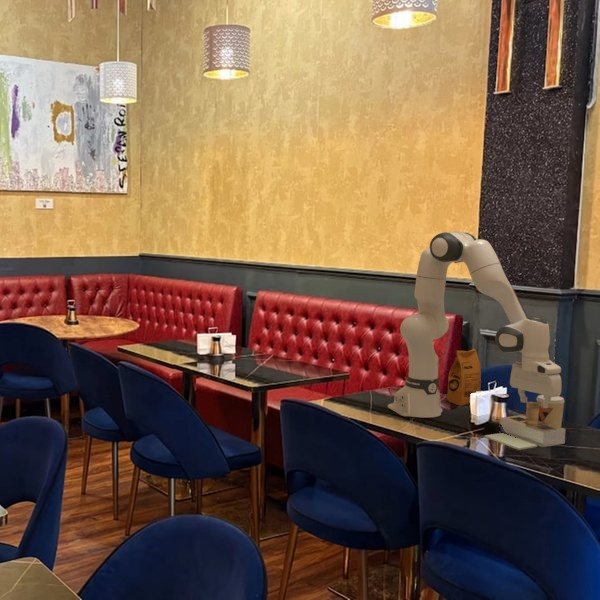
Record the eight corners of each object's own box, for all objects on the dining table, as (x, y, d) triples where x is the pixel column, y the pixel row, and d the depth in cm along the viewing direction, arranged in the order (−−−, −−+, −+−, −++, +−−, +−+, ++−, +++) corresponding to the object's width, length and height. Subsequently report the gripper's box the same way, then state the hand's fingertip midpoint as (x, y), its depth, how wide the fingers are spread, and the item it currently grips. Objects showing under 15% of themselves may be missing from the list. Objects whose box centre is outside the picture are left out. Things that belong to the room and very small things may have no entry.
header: (499, 431, 252) (500, 417, 252) (520, 428, 257) (521, 415, 256) (542, 447, 235) (543, 432, 234) (564, 443, 239) (565, 428, 239)
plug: (522, 436, 247) (524, 402, 245) (531, 435, 248) (532, 401, 247) (531, 439, 243) (532, 405, 242) (539, 438, 245) (541, 403, 244)
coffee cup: (529, 428, 258) (531, 395, 257) (550, 426, 261) (552, 393, 260) (547, 435, 249) (548, 401, 248) (568, 433, 252) (570, 399, 251)
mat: (484, 437, 245) (484, 435, 245) (502, 434, 249) (502, 432, 249) (518, 450, 231) (518, 448, 231) (537, 447, 235) (537, 445, 235)
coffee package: (443, 401, 297) (445, 348, 295) (466, 398, 303) (468, 347, 301) (459, 406, 288) (461, 352, 286) (483, 403, 294) (485, 350, 292)
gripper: (506, 360, 251) (505, 399, 252) (551, 370, 233) (549, 412, 234) (519, 359, 254) (518, 398, 255) (565, 368, 236) (563, 410, 237)
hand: (533, 405), depth 244 cm, fingers open, 8 cm apart
